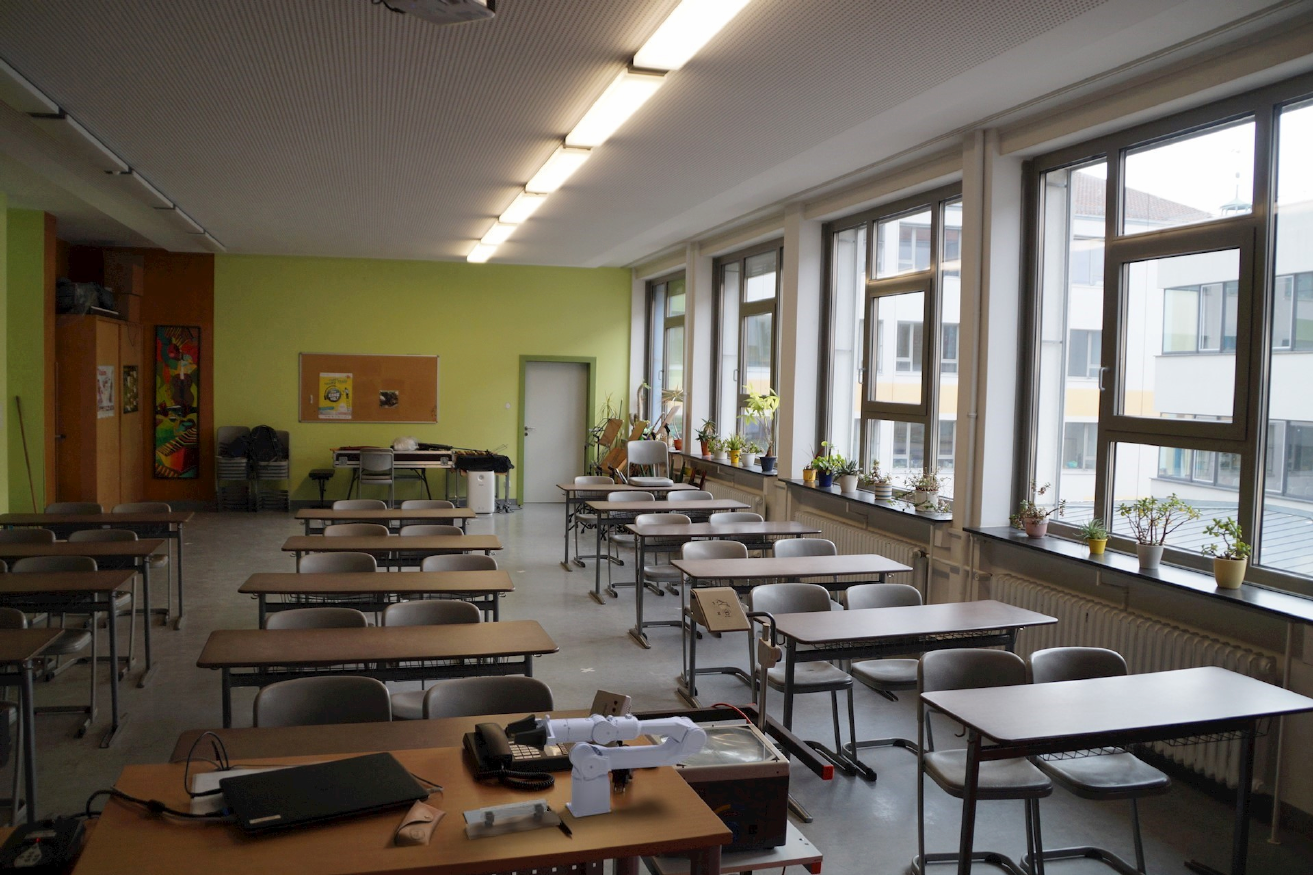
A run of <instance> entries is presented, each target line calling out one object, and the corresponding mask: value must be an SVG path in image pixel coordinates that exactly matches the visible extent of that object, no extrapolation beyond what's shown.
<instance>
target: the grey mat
mask: <svg viewBox="0 0 1313 875" xmlns="http://www.w3.org/2000/svg"><path fill="white" fill-rule="evenodd" d="M544 812H547V811H544ZM463 814H464V818H465V820H466V824H470V823H477V822H483V821H481V820H480V818H479V809H478V808H477V809H473V810H466V811H463ZM532 814H534V813H532ZM525 815H528V814H525ZM519 816H521V815H519ZM512 817H515V816H512ZM506 818H509V817H506ZM500 819H502V818H500ZM494 820H496V819H494Z"/></svg>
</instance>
